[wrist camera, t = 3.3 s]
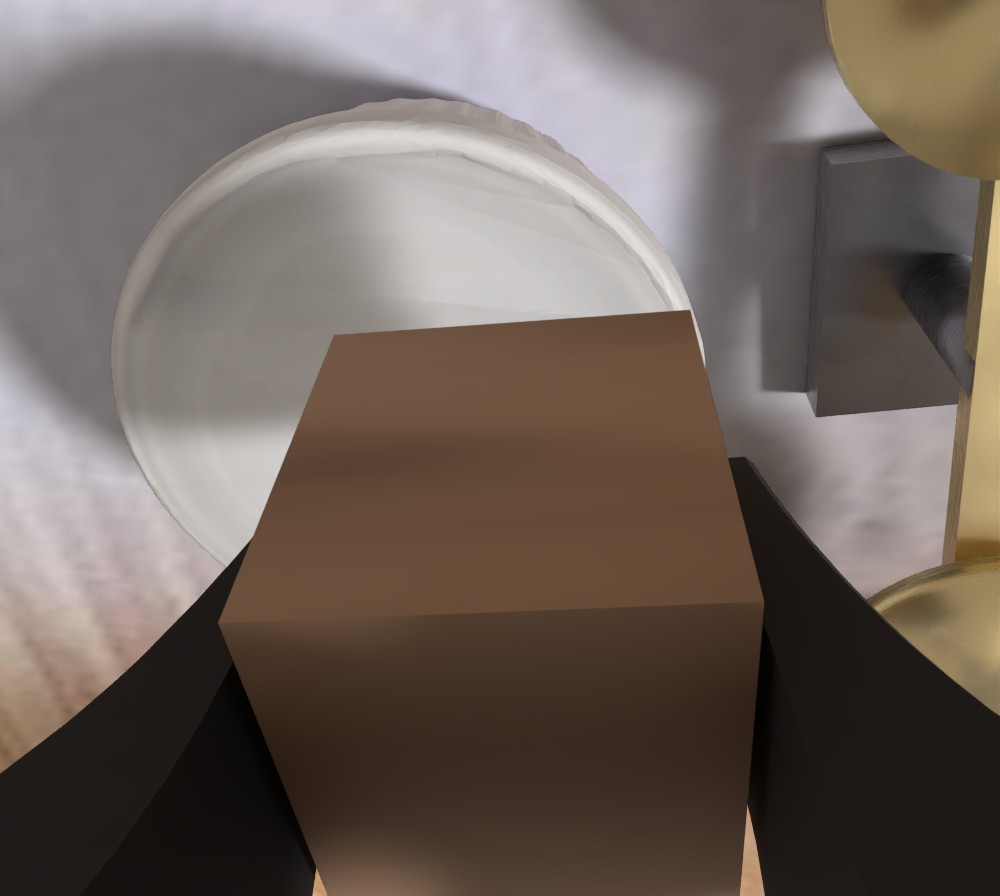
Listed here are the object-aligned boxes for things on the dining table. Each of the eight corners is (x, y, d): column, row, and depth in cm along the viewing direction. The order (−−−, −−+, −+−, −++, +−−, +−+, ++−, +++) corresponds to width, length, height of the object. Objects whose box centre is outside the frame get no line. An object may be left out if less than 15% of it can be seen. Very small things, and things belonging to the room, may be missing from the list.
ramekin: (504, -81, 17) (488, -32, 13) (761, 366, 22) (811, 507, 18) (90, 231, 21) (-29, 348, 17) (391, 547, 26) (360, 698, 22)
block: (686, 576, 14) (739, 900, 10) (394, 588, 14) (330, 902, 10) (690, 309, 11) (765, 601, 7) (334, 334, 12) (218, 623, 8)
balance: (1013, 596, 26) (1121, 786, 21) (758, 613, 27) (805, 800, 22) (1259, -400, 14) (1646, -496, 9) (780, -312, 15) (895, -355, 10)
